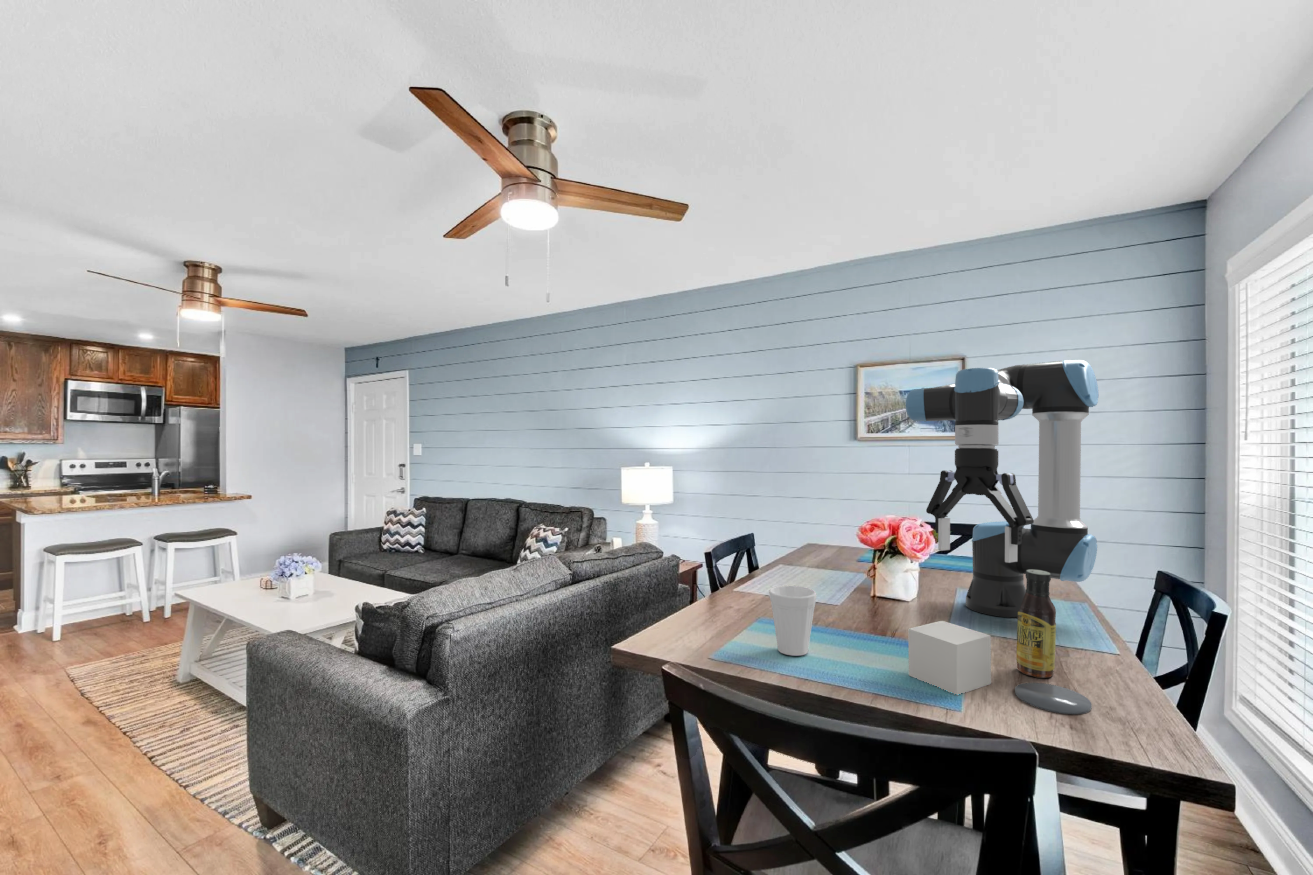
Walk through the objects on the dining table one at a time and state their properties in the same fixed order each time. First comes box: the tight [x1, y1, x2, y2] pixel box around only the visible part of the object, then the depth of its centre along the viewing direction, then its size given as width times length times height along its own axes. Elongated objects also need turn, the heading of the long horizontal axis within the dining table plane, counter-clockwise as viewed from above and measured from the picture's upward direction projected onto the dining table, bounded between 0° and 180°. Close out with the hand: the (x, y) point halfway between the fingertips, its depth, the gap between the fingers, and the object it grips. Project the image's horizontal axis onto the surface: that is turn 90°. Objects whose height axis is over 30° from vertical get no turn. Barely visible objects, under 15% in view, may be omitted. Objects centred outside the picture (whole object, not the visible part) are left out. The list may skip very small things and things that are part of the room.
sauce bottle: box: [1015, 569, 1057, 679], centre depth 112 cm, size 7×6×20 cm
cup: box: [768, 584, 817, 657], centre depth 124 cm, size 10×10×13 cm
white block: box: [907, 620, 992, 696], centre depth 109 cm, size 10×10×9 cm
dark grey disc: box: [1014, 682, 1092, 715], centre depth 101 cm, size 11×11×1 cm
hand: (975, 555), depth 113 cm, fingers open, 13 cm apart
